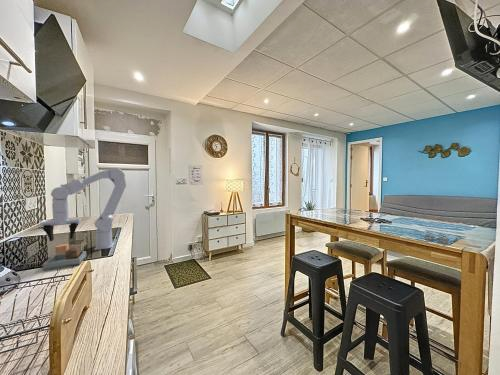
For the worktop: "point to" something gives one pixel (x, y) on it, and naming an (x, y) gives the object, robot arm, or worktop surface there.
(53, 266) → the slate tray
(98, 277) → the worktop surface
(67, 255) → the walnut block
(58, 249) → the terracotta block
